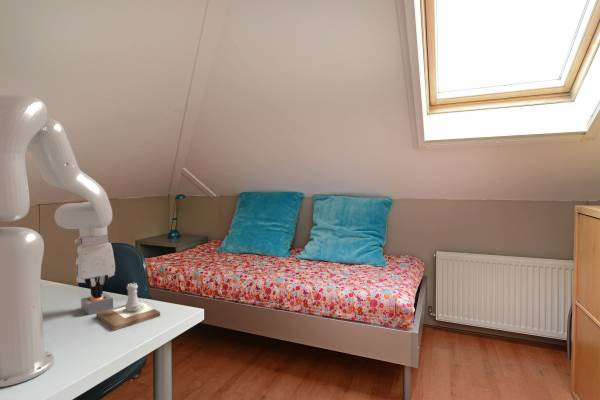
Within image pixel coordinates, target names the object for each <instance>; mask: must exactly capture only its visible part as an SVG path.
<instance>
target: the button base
mask: <svg viewBox="0 0 600 400" xmlns="http://www.w3.org/2000/svg"><path fill="white" fill-rule="evenodd" d="M101 295H103V299H101V300H97V301H93V302H91V301H90V298H91V297H93V296H87V297H82V298H80V305H81V306H80V307H81V310H82V311H83V312H84V313H86V314H87V315H88V316H89V315H90V316H91V315H93V314H96V313H99V312H102V311H106V310H110V309H113V308H114V297H112V296H110V295H109V294H107V293H105V292H103V294H101Z"/></svg>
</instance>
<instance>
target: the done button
mask: <svg viewBox="0 0 600 400" xmlns="http://www.w3.org/2000/svg"><path fill="white" fill-rule="evenodd" d="M101 296H102V297H100V298H99V297H98V298H94V297H91V298H90V301H91V302H93V301H97V300H101V299H103V295H101Z"/></svg>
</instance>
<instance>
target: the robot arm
mask: <svg viewBox="0 0 600 400" xmlns="http://www.w3.org/2000/svg"><path fill="white" fill-rule="evenodd" d="M27 152H29V153H31V155H32V157H33V160H34V161H35V163H36V166H37V169H38V170H39V172H40V175H41V178H42V179H43V180H44V181H45V182H46V183H47V184H49V185H52V186H54V187H57V188H59V189H63V190H66V191H68V192H72V193H73V194H76V195H79V196H81V197H82V198H84V199H85V200H86V201H83V202H69V203H64V204H62V205H60V206H59V207H58V208H56V210H55V212H54V221H55V223H56V224H57V226H58V227H61V228H63V229H67V230H69V229H70V230H73V229H74V230H76V229H77V230H79V236H78V238H76V239H74V244H75V245H76V244H78V246H77V251H76V259H75V272H76V273H75V274H76V279H75V280H76V283H78V284H79V283H81V284H82V283H83V284H84V283H86V284H87V285H89V287H90V295H91V296H93V297H94V298H98V297H99V298H100V297H102V296H101V294H103V293H104V290H103V285H104V284H105V281H107V280H108V279H109V278H111V277H113V276H115V272H116V262H115V257H114V250H113V246H112V243H111V242H109V236H108V226H110V224H111V222H112V221H113V209H112V205H111V202H110V199H109V197H108V194H107V192H106V189H104V188H103V186H101V185H100V184H99V183H98V182H97V181H96V180H95V179H94V178H92V177H91V176H89V175H88V174H86V173H85V172H83V171H82V170H81V169H80V167H79V164H78V162H77V158H76V157H75V153H74V151H73V149H72V146H71V144H70V141H69V139H68V136H67V134H66V131H65V128H64V127H63V125H62V123H60V122H59V121H58V120H56V119H53V118H51V117H48V109H47V106H46V103H44V101H42V100H41V99H39V98H38V97H35V96H31V95H26V94H18V93H17V94H15V93H12V94H11V93H0V222H3V223H5V222H13V221H19V220H20V219H23V218H24V217H26V216H27V215H28V213H29V211H30V207H31V206H30V205H31V204H30V202H31V201H30V191H29V190H30V189H29V183H28V175H27V174H28V173H27V167H26V166H27V165H26V154H27ZM44 241H45V240H44V238H43V237H42V235H41V234H40V232H39V233H38V232H37V231H36V230H34V229H31V228H29V227H21V226H2V227H1V226H0V388H4V387H9V386H14V385H16V384H21V383H23V382H27V381H29V380H31V379H33V378H36V377H38V376H39V375H42V374H43V373H45V372H46V371H47V370H49V369H50V368H51V367H52V365H53V364H54V362H55V361H54V360H55V356H54V354H53V353H51V352H48V351H46V349H45V336H44V335H45V334H44V317H43V316H44V315H43V302H42V301H43V300H42V298H43V297H42V287H41V286H42V285H41V283H42V281H41V278H42V277H41V276H42V275H41V274H42V273H41V272H42V264H43V258H44V253H45V252H44V251H45V242H44Z"/></svg>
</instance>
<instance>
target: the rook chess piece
mask: <svg viewBox="0 0 600 400" xmlns="http://www.w3.org/2000/svg"><path fill="white" fill-rule="evenodd" d="M138 288H139V285H138V284H137V282H133V283H132V282H130V283H127V286H126V290H127V301H126V303H125V307H126V308H125V310H126V311H127V312H134V311H137V310H139V309H140V308H141V306H140V305H141V303H140V302H139V301H140V300H139V299H138Z"/></svg>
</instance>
